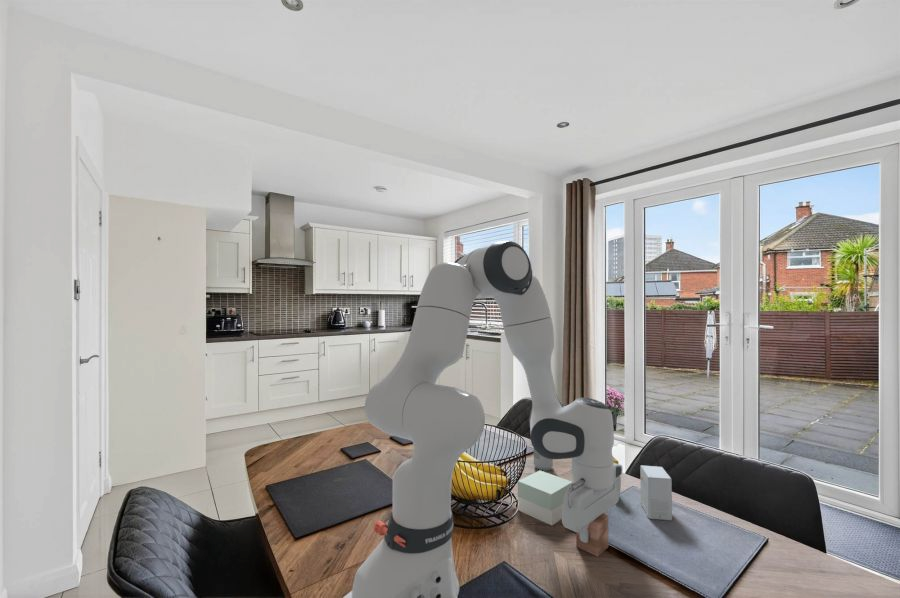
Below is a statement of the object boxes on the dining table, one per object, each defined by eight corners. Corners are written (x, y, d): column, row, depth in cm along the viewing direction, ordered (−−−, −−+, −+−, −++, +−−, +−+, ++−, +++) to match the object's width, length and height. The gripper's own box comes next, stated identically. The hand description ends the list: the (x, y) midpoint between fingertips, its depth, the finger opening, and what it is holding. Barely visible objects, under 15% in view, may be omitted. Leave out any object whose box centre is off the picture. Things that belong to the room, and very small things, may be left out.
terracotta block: (597, 556, 89) (597, 524, 89) (576, 546, 92) (576, 515, 92) (608, 547, 92) (608, 515, 92) (587, 537, 96) (587, 507, 96)
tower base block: (551, 527, 101) (552, 510, 101) (518, 511, 108) (518, 496, 108) (573, 512, 108) (573, 497, 108) (540, 499, 115) (540, 484, 115)
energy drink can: (553, 472, 132) (553, 424, 132) (534, 470, 133) (534, 424, 133) (551, 464, 138) (551, 419, 138) (533, 463, 139) (533, 418, 139)
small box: (672, 521, 103) (672, 479, 103) (647, 519, 104) (648, 477, 104) (662, 505, 111) (662, 466, 111) (640, 503, 112) (640, 464, 112)
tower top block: (551, 510, 101) (551, 494, 101) (517, 496, 108) (517, 481, 108) (572, 497, 108) (572, 481, 108) (539, 484, 115) (539, 470, 115)
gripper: (582, 492, 83) (581, 561, 83) (625, 464, 97) (625, 523, 97) (554, 482, 87) (554, 548, 87) (600, 456, 102) (599, 513, 102)
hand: (592, 534), depth 92 cm, fingers closed on terracotta block, 5 cm apart
